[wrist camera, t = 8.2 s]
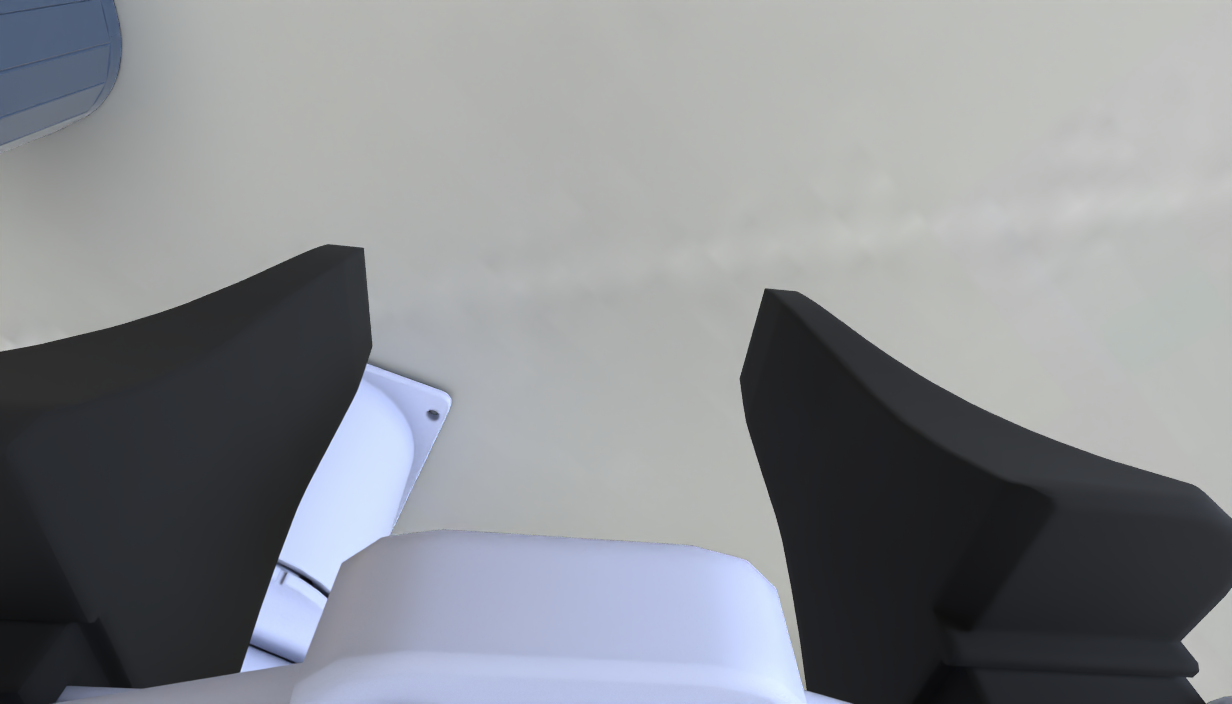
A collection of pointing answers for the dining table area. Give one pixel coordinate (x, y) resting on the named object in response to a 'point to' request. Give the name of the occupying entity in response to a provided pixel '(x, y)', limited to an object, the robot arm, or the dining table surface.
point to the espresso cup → (54, 64)
